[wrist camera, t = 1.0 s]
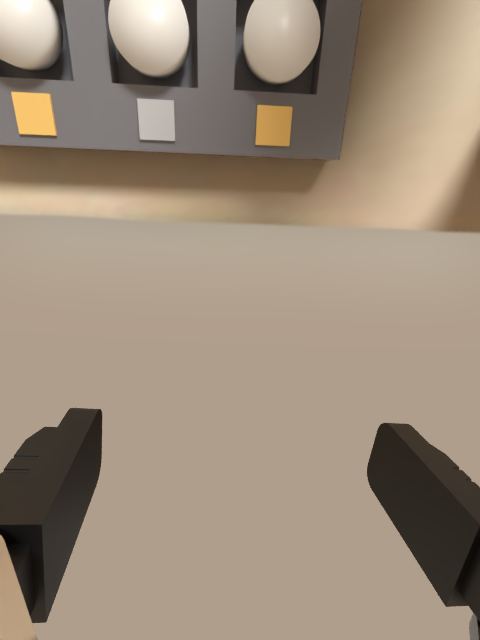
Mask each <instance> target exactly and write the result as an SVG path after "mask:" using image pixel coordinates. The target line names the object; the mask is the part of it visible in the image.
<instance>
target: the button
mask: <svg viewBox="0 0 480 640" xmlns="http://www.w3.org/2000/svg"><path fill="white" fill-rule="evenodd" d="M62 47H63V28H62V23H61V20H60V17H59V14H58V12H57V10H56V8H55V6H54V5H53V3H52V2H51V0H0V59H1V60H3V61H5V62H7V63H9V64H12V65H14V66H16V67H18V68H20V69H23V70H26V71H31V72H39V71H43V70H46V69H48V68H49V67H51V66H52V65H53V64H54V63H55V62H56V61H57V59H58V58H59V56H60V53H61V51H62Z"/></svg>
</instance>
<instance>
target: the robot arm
mask: <svg viewBox="0 0 480 640" xmlns="http://www.w3.org/2000/svg"><path fill="white" fill-rule="evenodd" d="M101 454H102V411H101V409H84V408H82V409H81V408H70V409H69V410H68V412H67V413H66V415H65V416H64V418H63V419H62V421H61V423H60V424H59V426H58V427H44V428H42V429H41V430H39V431H38V432H36V433H35V434H34V435H32V436H31V437H29V438H28V439H26V440H25V442H24V443H23V444H22V446H21V447H20V448H19V450H18V451H17V452H16V454H15V455H14V458H13V459H11V460H10V462H9V463H8V464H7V466H6V467H5V469H4V472H3V473H1V474H0V640H38V638H37V636H36V633H35V631H34V627H33V624H32V623H42V622H43V623H44V622H46V621H47V619H48V616H49V613H50V611H51V608H52V605H53V602H54V600H55V597H56V594H57V591H58V589H59V586H60V583H61V580H62V577H63V575H64V572H65V570H66V567H67V564H68V561H69V559H70V556H71V553H72V550H73V548H74V545H75V542H76V539H77V537H78V534H79V531H80V528H81V525H82V523H83V520H84V517H85V515H86V512H87V509H88V507H89V504H90V501H91V498H92V496H93V493H94V490H95V487H96V484H97V481H98V478H99V473H100V467H101ZM367 477H368V482H369V485H370V487H371V489H372V491H373V492H374V494H375V495H376V497H377V498H378V500H379V502H380V503H381V505H382V506H383V508H384V510H385V511H386V513H387V514H388V516H389V517H390V519H391V521H392V522H393V524H394V525H395V527H396V528H397V530H398V532H399V533H400V535H401V536H402V538H403V540H404V541H405V543H406V544H407V546H408V548H409V549H410V550H411V552H412V554H413V555H414V557H415V559H416V560H417V562H418V563H419V565H420V566H421V568H422V570H423V571H424V573H425V574H426V576H427V578H428V579H429V581H430V582H431V584H432V585H433V587H434V589H435V590H436V592H437V593H438V595H439V596H440V598H441V600H442V601H443V603H444V604H445V606H446V607H450V606H469V607H470V608H471V610H472V611H473V615H472V618H471V620H470V623H469V632H470V640H480V487H479V486H478V485H477V484H476V483H474V482H472V481H471V479H470V477H468V476H467V475H466V474H465V473H464V472H463V471H462V470H459V467H458V466H457V465H456V464H455V463H454V462H453V461H452V460H451V459H450V458H449V457H448V456H447V455H446V454H445V453H443V452H441V451H440V450H438V449H437V448H435V447H434V446H432V445H431V444H429V443H428V442H427V441H426V440H425V439H424V438H423V437H422V436H421V435H420V434H419V433H418V432H417V431H416V430H415V429H414V428H413V427H412V426H411V425H409V424H396V423H383V424H381V425H380V426H379V428H378V431H377V434H376V438H375V441H374V445H373V448H372V452H371V455H370V459H369V462H368V467H367Z"/></svg>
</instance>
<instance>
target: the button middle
mask: <svg viewBox="0 0 480 640" xmlns="http://www.w3.org/2000/svg"><path fill="white" fill-rule="evenodd" d="M108 22H109V29H110V33H111V36H112V39H113V41H114V43H115V45H116V47H117V49H118V50H119V52H120V53H121V55H122V56H123V57H124V58H125V59H126V60H127V61H128V63H129V64H130V65H131V66H132V67H133V68H134V69H135V70H137V71H138V72H139V73H141V74H142V75H144V76H147V77H150V78H154V79H162V78H167V77H169V76H171V75H173V74H175V73H176V72H177V71H178V70H179V69H180V68H181V67H182V66H183V64H184V62H185V61H186V58H187V56H188V53H189V48H190V30H189V25H188V20H187V16H186V12H185V9H184V6H183V3H182V1H181V0H110V4H109V11H108Z"/></svg>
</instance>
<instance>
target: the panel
mask: <svg viewBox="0 0 480 640" xmlns="http://www.w3.org/2000/svg"><path fill="white" fill-rule="evenodd" d="M181 1H182V3H183V6H184V9H185V12H186V16H187V20H188V25H189V30H190V48H189V53H188V56H187V58H186V61H185V62H184V64H183V66H182V67H181V68H180V69H179V70H178V71H177V72H176V73H175V74H173V75H171V76H169V77H167V78H162V79H154V78H150V77H147V76H144V75H142V74H141V73H139V72H138V71H137V70H135V69H134V68H133V67H132V66H131V65H130V64H129V63H128V61H127V60H126V59H125V58H124V57H123V56H122V55H121V53H120V52H119V50H118V49H117V47H116V45H115V43H114V41H113V39H112V36H111V33H110V29H109V22H108V11H109V4H110V0H51V2H52V3H53V5H54V6H55V8H56V10H57V12H58V14H59V17H60V20H61V23H62V28H63V47H62V51H61V53H60V56H59V58H58V59H57V61H56V62H55V63H54V64H53V65H52V66H51V67H49V68H48V69H46V70H43V71H39V72H31V71H26V70H23V69H20V68H18V67H16V66H14V65H12V64H9V63H7V62H5V61H3V60H1V59H0V146H22V147H45V148H68V149H91V150H113V151H136V152H159V153H182V154H205V155H227V156H250V157H273V158H296V159H318V160H339V159H340V152H341V145H342V138H343V131H344V124H345V117H346V110H347V103H348V96H349V89H350V82H351V75H352V68H353V61H354V54H355V47H356V40H357V33H358V26H359V19H360V13H361V6H362V0H313V2H314V4H315V6H316V9H317V11H318V15H319V19H320V40H319V44H318V48H317V51H316V53H315V55H314V57H313V59H312V61H311V62H310V64H309V65H308V66H307V67H306V68H305V69H304V70H303V72H302V73H301V74H300V75H299V76H298V77H297V78H296V79H294V80H293V81H291V82H289V83H287V84H284V85H277V86H274V85H269V84H266V83H264V82H262V81H260V80H259V79H258V78H257V77H255V76H254V74H253V73H252V72H251V70H250V69H249V67H248V65H247V63H246V60H245V57H244V52H243V34H244V29H245V23H246V18H247V15H248V12H249V10H250V7H251V5H252V4H253V2H254V0H181Z"/></svg>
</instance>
